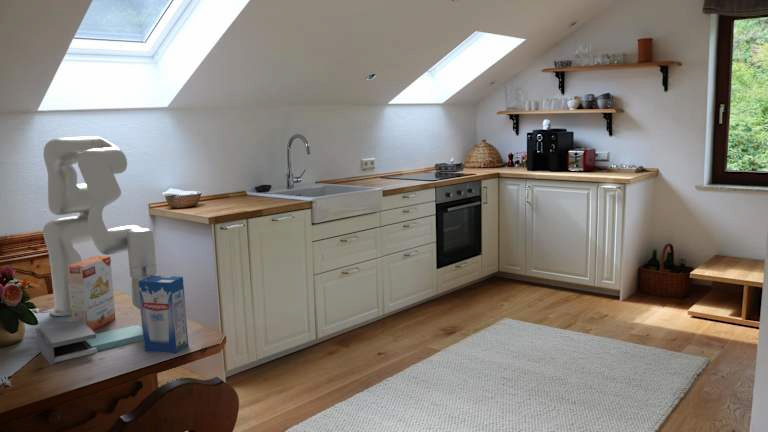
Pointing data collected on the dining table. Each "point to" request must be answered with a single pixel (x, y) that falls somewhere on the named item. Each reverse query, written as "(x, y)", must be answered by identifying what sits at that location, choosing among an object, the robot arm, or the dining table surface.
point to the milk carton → (163, 314)
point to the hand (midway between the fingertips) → (148, 329)
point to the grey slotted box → (63, 339)
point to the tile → (115, 338)
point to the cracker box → (91, 291)
